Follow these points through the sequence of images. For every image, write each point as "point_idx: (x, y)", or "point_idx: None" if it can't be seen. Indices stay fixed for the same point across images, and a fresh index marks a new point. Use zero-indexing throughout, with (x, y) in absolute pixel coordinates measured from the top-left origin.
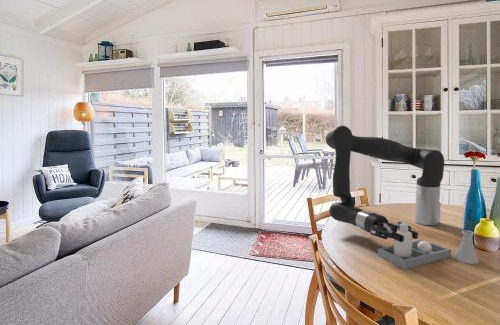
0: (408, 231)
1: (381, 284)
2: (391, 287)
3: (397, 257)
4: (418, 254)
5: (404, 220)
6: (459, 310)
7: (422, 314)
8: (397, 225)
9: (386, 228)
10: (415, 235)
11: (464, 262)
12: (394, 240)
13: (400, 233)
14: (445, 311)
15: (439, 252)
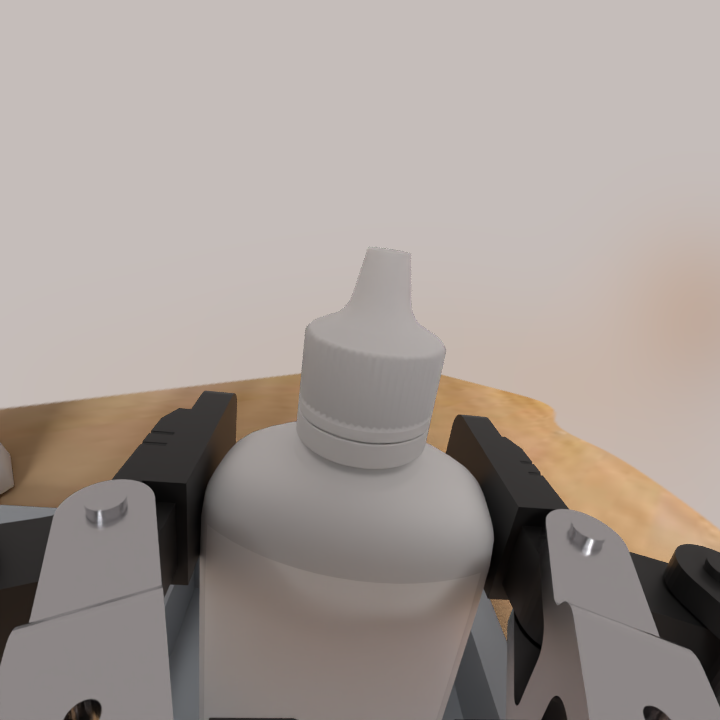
0: (289, 427)
1: (660, 544)
2: (610, 511)
3: (481, 604)
4: (170, 618)
5: (387, 249)
6: (441, 390)
7: (554, 413)
8: (164, 677)
9: (690, 680)
10: (232, 429)
11: (7, 466)
12: (470, 627)
13: (445, 455)
14: (482, 399)
15: (37, 509)
